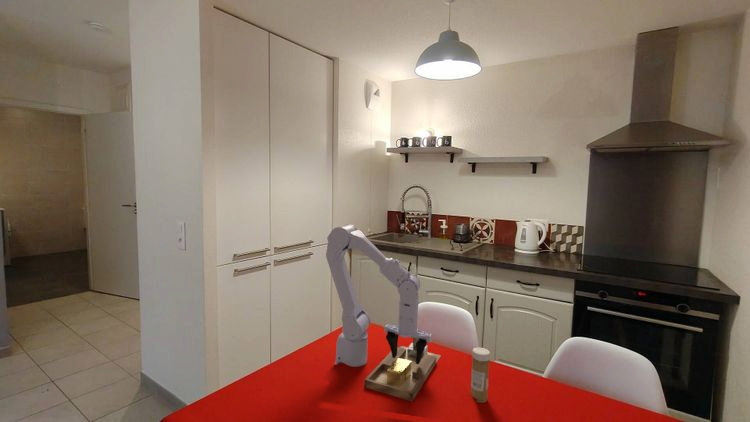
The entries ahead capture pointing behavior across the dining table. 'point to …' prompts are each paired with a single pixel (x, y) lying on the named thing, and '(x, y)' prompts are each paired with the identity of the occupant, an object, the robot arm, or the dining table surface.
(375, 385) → the slot board
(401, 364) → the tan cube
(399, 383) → the golden brown cube
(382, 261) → the robot arm
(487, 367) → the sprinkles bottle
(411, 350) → the brushed metal block
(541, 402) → the dining table surface
